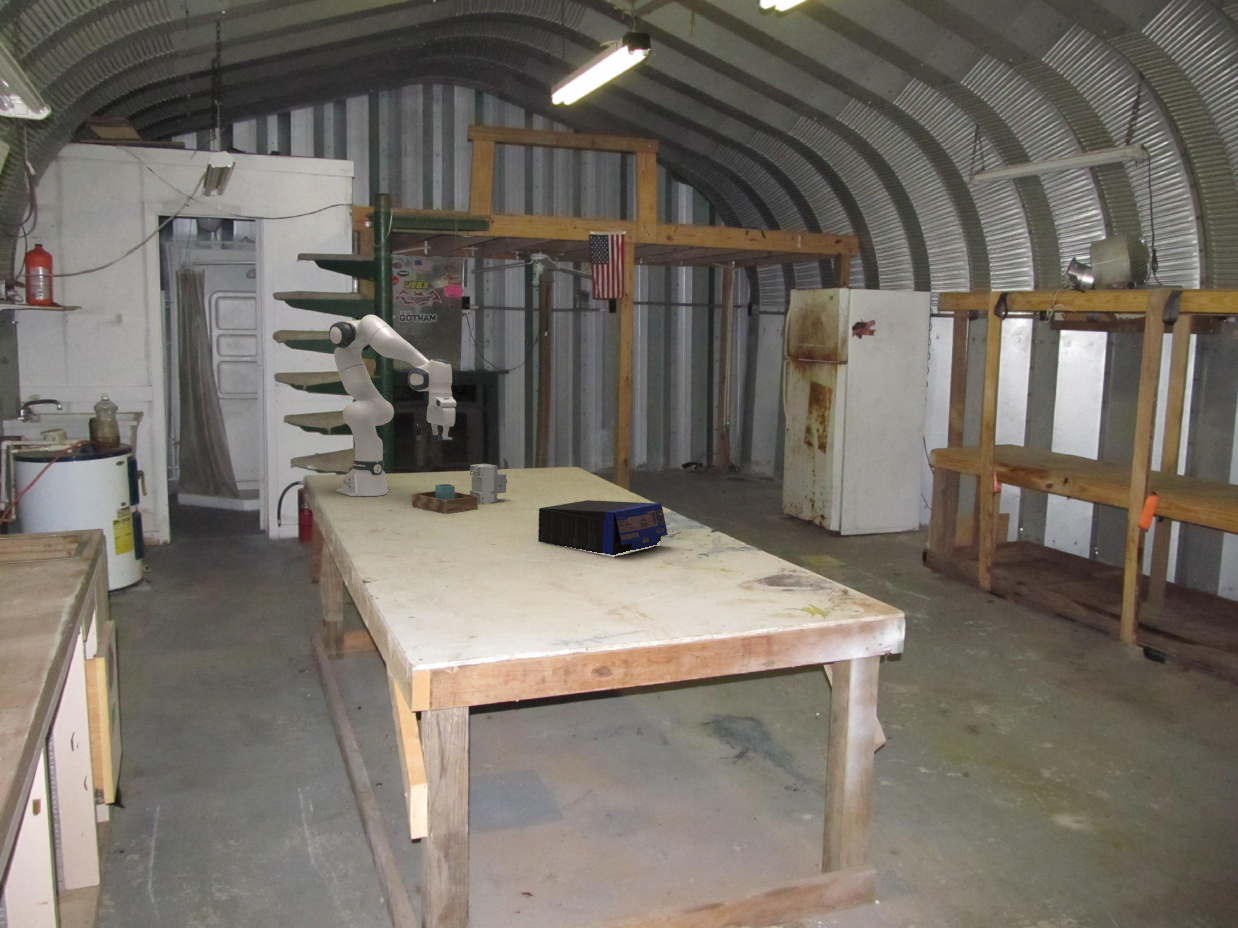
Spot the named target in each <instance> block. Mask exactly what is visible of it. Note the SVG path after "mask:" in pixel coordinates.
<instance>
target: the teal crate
mask: <svg viewBox="0 0 1238 928" xmlns="http://www.w3.org/2000/svg"><path fill="white" fill-rule="evenodd" d="M455 488H456V487H455V485H453V484H450V483H441V484H440V483H439V484H435V488H434V489H435V490H434V491H435V498H438V499H443V500H451V499H455V492H456V489H455Z"/></svg>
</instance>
